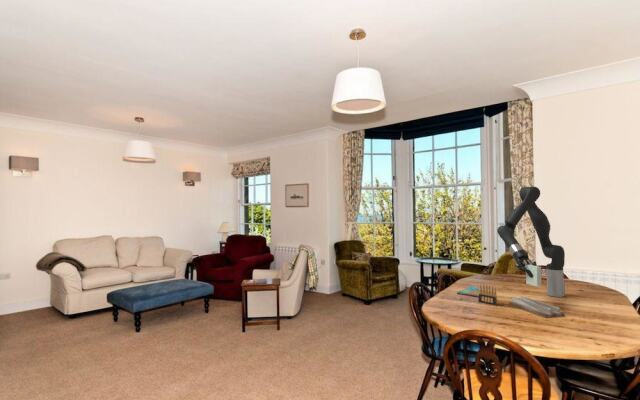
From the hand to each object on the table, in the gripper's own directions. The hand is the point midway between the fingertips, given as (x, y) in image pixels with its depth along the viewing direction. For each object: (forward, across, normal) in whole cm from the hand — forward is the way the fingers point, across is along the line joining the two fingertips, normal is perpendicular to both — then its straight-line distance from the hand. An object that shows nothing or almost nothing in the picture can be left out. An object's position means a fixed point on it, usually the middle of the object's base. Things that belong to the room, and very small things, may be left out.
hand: (534, 276), depth 203 cm
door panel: (+3, 0, +4) cm, 5 cm away
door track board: (+15, -3, +11) cm, 19 cm away
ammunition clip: (+2, -19, +24) cm, 31 cm away
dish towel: (-15, -9, +43) cm, 46 cm away
